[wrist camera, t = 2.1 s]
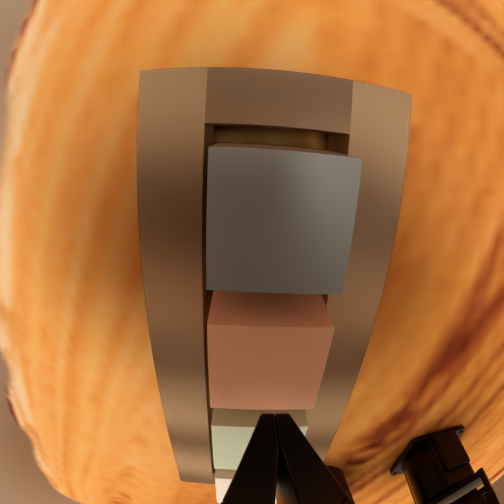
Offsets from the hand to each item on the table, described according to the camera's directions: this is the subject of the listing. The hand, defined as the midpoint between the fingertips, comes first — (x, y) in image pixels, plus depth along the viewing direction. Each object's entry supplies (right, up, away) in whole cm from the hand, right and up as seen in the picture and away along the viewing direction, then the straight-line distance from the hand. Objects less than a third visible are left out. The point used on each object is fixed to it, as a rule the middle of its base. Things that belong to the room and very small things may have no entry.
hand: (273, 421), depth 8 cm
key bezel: (0, +1, +8) cm, 8 cm away
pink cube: (0, +2, +6) cm, 6 cm away
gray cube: (0, +7, +4) cm, 8 cm away
